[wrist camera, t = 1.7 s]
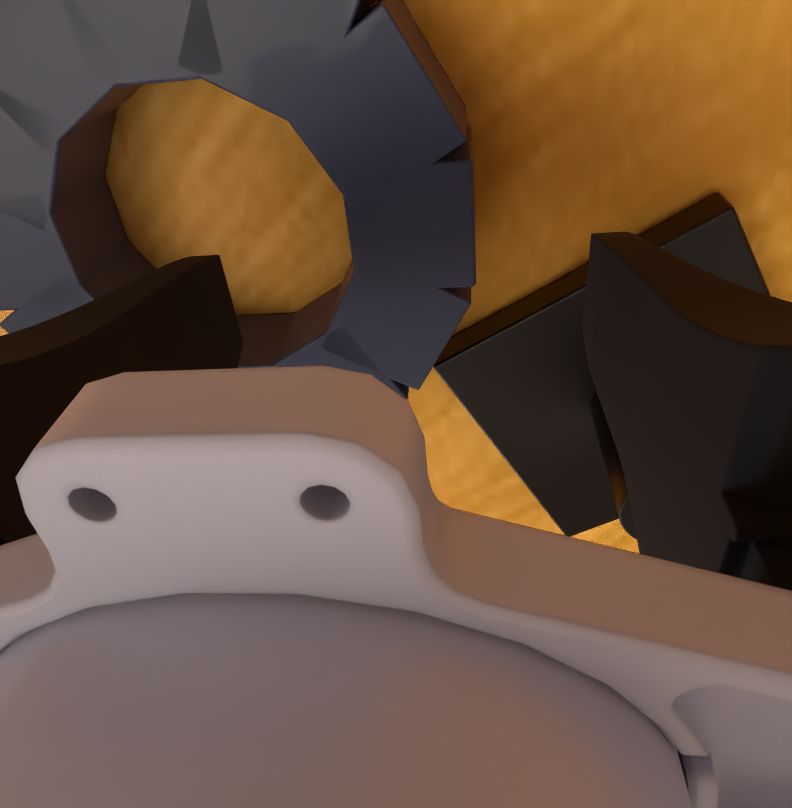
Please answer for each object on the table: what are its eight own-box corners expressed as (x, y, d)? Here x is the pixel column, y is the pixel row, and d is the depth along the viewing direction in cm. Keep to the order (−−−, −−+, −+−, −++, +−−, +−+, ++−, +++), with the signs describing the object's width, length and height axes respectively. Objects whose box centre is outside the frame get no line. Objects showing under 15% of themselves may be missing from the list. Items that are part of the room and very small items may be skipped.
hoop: (233, 445, 24) (207, 504, 21) (-98, 136, 18) (-184, 170, 15) (559, 263, 18) (573, 314, 16) (245, -264, 12) (194, -308, 10)
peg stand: (562, 514, 25) (586, 649, 20) (433, 346, 21) (425, 468, 16) (814, 417, 21) (911, 554, 16) (719, 189, 17) (813, 289, 12)
